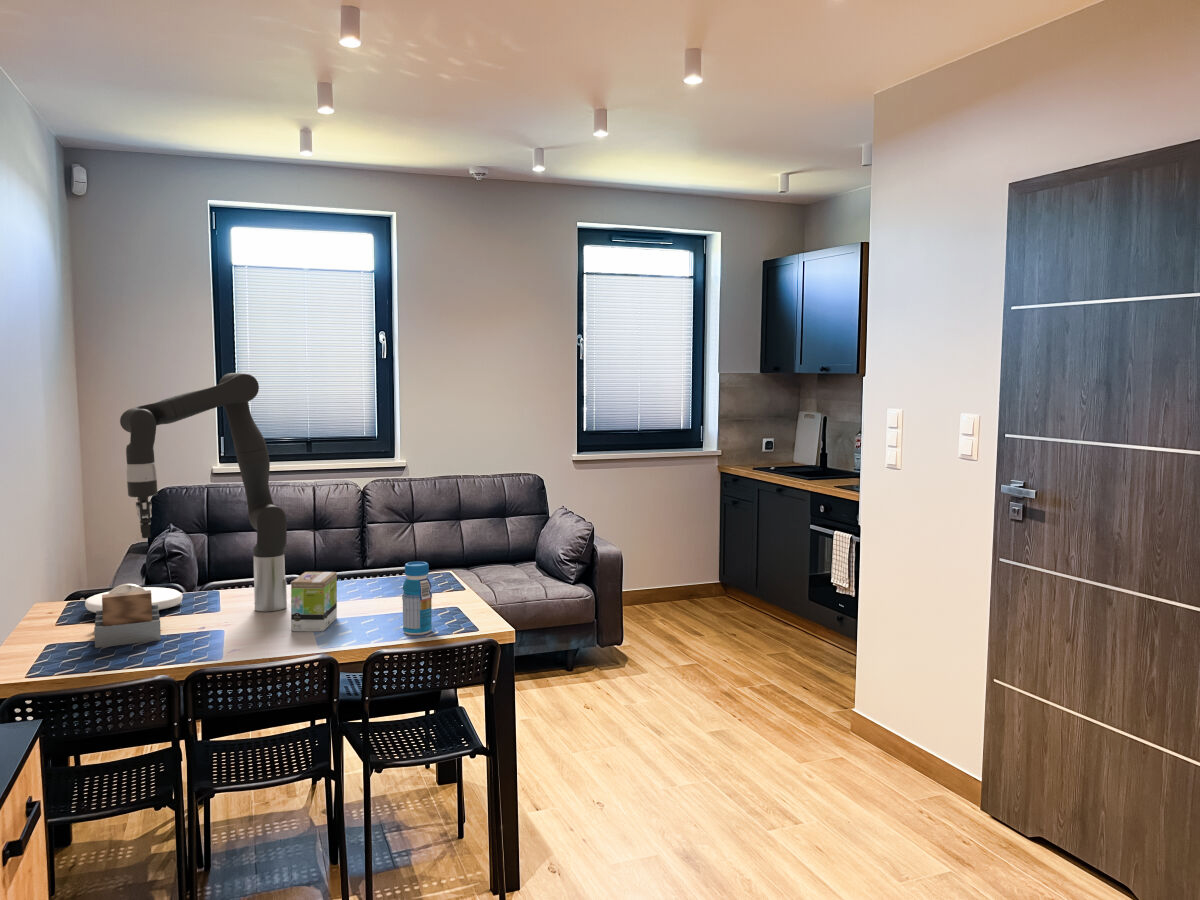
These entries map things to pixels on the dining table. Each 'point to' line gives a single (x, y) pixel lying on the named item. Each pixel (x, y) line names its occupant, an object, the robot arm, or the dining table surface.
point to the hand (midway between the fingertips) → (145, 535)
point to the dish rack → (127, 625)
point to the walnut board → (127, 607)
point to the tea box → (313, 601)
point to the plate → (158, 595)
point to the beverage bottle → (417, 599)
